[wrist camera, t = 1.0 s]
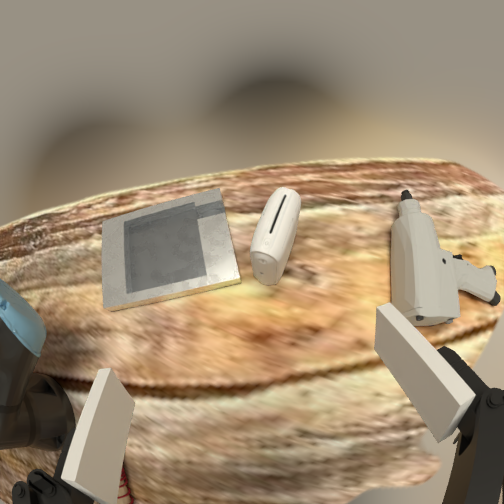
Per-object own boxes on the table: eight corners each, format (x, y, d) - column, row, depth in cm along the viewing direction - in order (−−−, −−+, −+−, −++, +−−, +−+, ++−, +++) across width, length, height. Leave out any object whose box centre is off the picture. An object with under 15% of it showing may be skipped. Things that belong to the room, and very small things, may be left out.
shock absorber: (161, 566, 18) (111, 425, 30) (134, 566, 17) (82, 424, 28) (159, 553, 22) (116, 420, 34) (134, 553, 21) (89, 420, 32)
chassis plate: (111, 311, 41) (103, 308, 38) (108, 227, 47) (102, 221, 45) (241, 282, 41) (239, 277, 39) (221, 196, 48) (219, 187, 46)
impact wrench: (483, 208, 41) (398, 172, 38) (505, 317, 33) (422, 319, 29) (459, 225, 49) (374, 198, 45) (475, 327, 40) (386, 329, 37)
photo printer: (277, 290, 41) (280, 259, 29) (250, 281, 42) (243, 246, 30) (298, 231, 44) (307, 185, 33) (273, 223, 45) (274, 175, 34)
